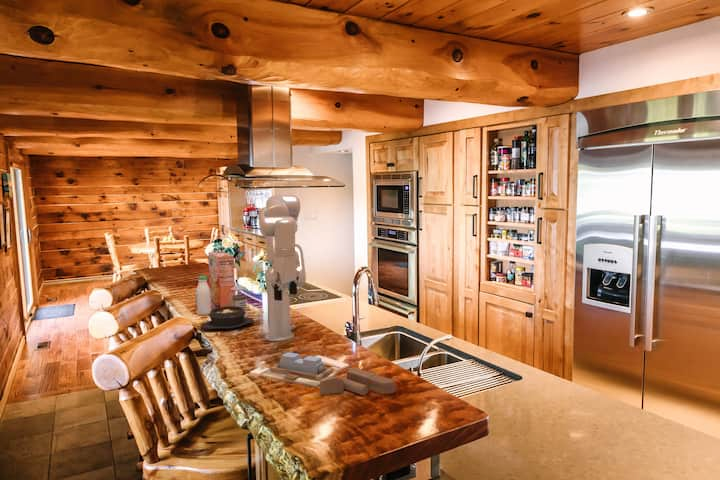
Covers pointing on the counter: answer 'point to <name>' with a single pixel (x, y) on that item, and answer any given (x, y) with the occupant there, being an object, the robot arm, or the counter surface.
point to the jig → (300, 375)
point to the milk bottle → (203, 297)
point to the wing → (333, 362)
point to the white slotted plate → (260, 369)
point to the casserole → (227, 318)
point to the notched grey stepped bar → (302, 363)
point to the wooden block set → (357, 383)
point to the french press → (239, 297)
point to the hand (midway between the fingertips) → (285, 297)
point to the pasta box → (221, 278)
